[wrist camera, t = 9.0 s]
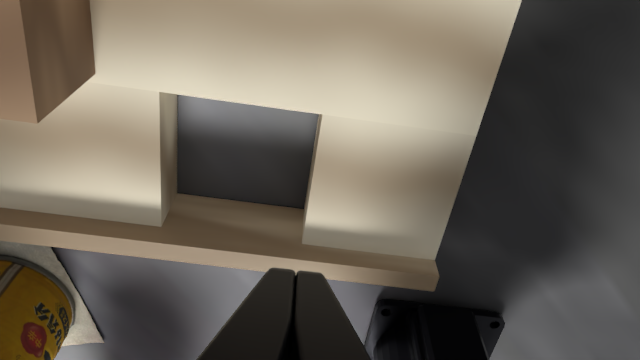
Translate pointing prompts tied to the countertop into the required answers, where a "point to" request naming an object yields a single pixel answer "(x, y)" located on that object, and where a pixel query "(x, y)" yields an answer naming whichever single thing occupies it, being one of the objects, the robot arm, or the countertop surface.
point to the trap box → (277, 92)
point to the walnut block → (43, 55)
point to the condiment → (39, 305)
